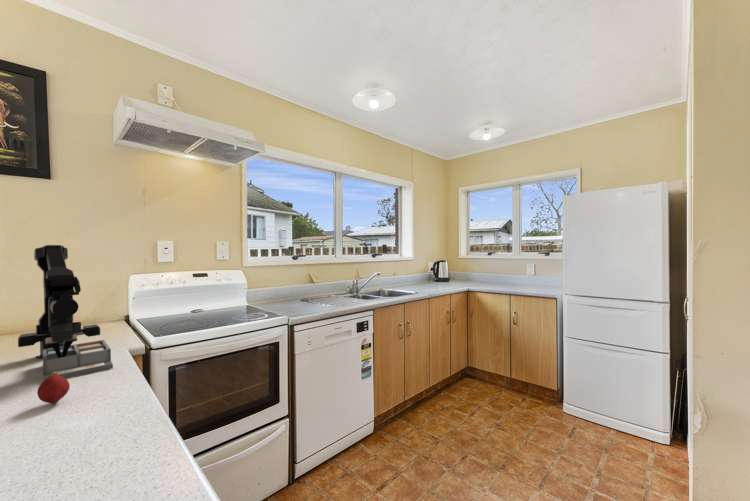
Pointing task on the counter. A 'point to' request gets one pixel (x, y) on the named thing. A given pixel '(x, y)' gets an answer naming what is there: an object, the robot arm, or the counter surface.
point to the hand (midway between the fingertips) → (61, 361)
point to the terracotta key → (89, 346)
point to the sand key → (91, 350)
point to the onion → (53, 388)
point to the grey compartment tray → (77, 360)
